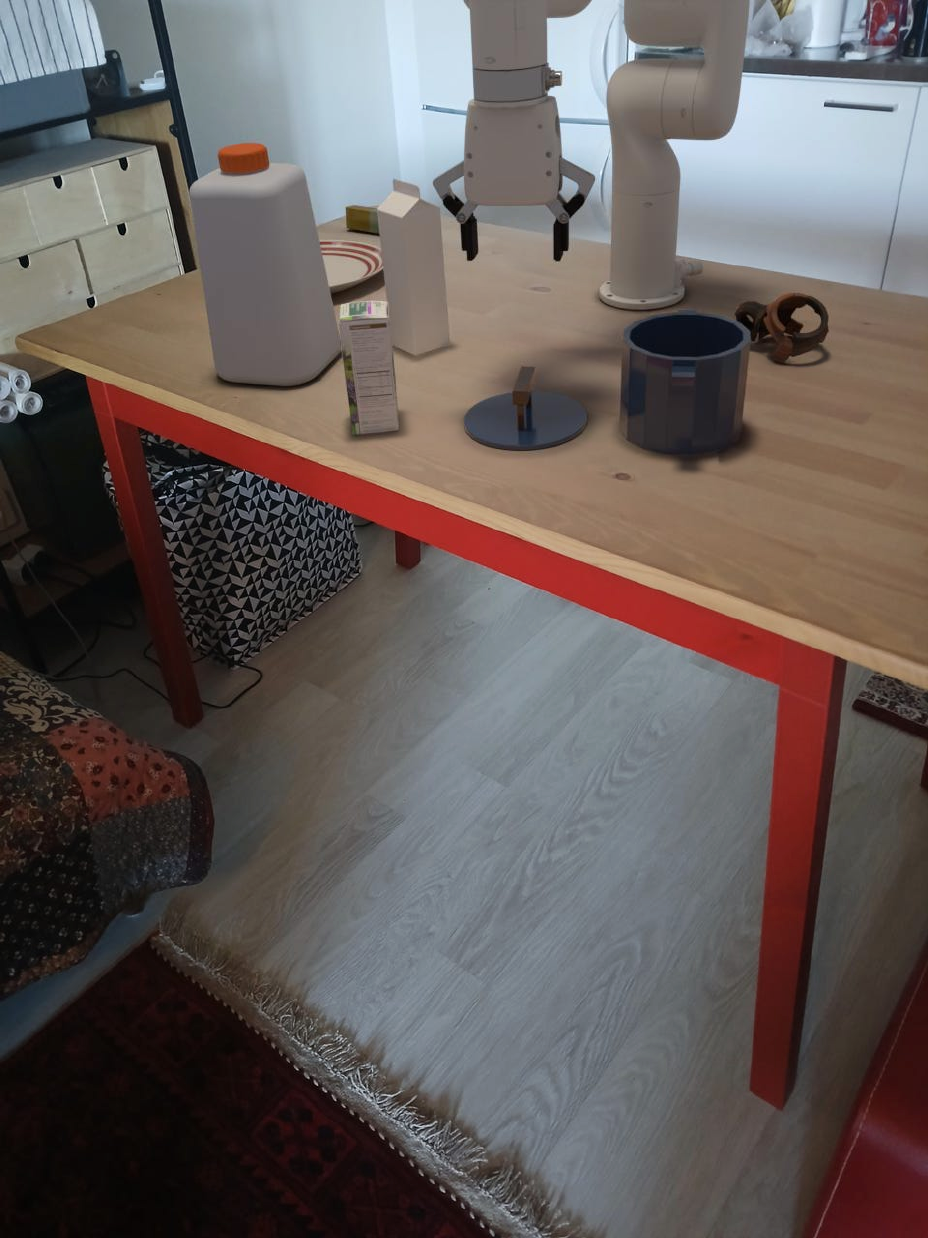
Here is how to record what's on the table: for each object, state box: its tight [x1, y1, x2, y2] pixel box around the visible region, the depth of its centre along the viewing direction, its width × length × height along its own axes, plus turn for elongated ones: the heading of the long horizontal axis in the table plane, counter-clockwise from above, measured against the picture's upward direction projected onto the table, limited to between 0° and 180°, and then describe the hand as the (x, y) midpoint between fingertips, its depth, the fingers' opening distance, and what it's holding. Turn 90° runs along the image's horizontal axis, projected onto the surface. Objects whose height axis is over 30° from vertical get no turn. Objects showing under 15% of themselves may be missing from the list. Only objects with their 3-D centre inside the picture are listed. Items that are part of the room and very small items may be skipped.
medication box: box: [345, 204, 380, 235], centre depth 188 cm, size 12×3×4 cm, turn 56°
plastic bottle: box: [189, 142, 342, 387], centre depth 133 cm, size 15×15×28 cm
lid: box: [463, 366, 588, 451], centre depth 120 cm, size 15×15×6 cm
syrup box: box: [338, 300, 400, 436], centre depth 120 cm, size 6×6×14 cm
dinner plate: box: [319, 239, 383, 295], centre depth 168 cm, size 28×27×3 cm
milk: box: [376, 178, 451, 357], centre depth 137 cm, size 6×6×22 cm
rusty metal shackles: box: [734, 292, 830, 364], centre depth 133 cm, size 12×10×8 cm
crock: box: [619, 309, 752, 456], centre depth 115 cm, size 14×19×12 cm
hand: (515, 257), depth 113 cm, fingers open, 9 cm apart
